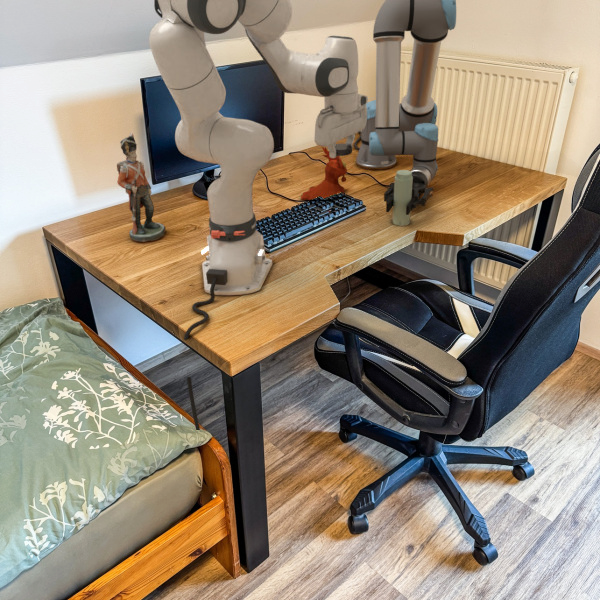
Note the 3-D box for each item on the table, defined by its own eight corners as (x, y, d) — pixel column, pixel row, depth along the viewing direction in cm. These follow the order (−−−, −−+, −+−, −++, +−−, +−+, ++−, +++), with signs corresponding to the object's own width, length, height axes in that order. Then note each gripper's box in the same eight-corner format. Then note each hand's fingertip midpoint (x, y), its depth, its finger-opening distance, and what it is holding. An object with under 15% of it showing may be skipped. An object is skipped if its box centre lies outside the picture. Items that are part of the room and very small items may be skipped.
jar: (411, 225, 168) (414, 175, 160) (393, 226, 168) (396, 175, 160) (408, 218, 173) (411, 169, 164) (391, 219, 173) (393, 169, 164)
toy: (355, 194, 190) (356, 151, 182) (309, 205, 184) (308, 160, 176) (337, 183, 200) (337, 141, 192) (293, 193, 193) (291, 150, 186)
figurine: (157, 243, 164) (137, 141, 148) (123, 241, 166) (100, 140, 150) (171, 228, 173) (154, 130, 157) (139, 226, 175) (119, 129, 159)
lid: (338, 148, 160) (338, 142, 159) (356, 151, 156) (356, 145, 155) (325, 153, 156) (325, 147, 155) (343, 157, 152) (343, 151, 151)
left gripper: (328, 112, 140) (328, 166, 148) (371, 95, 154) (370, 145, 161) (307, 109, 144) (309, 162, 151) (352, 93, 157) (351, 142, 164)
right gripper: (444, 196, 180) (427, 225, 162) (388, 189, 186) (367, 217, 168) (446, 173, 176) (429, 200, 158) (389, 167, 182) (367, 193, 164)
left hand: (341, 153), depth 156 cm, fingers closed on lid, 6 cm apart
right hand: (397, 209), depth 163 cm, fingers closed on jar, 5 cm apart
